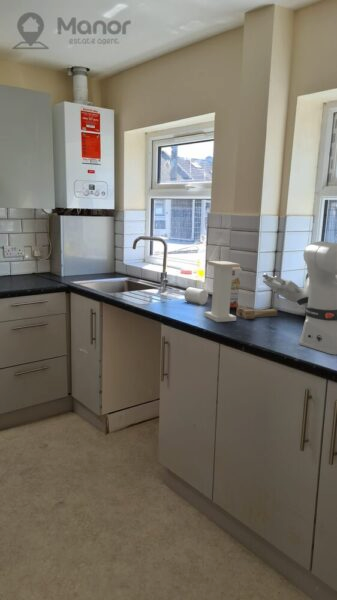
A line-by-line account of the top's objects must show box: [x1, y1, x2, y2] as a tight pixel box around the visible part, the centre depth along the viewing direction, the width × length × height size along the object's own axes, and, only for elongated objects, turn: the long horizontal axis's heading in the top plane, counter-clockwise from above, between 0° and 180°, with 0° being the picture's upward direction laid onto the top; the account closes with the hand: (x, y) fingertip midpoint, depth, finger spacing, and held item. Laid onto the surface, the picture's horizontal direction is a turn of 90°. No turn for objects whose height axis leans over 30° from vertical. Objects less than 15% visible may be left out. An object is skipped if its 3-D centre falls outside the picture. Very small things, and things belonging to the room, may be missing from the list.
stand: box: [203, 260, 241, 323], centre depth 207 cm, size 12×10×26 cm
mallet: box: [235, 306, 278, 320], centre depth 218 cm, size 8×20×4 cm, turn 114°
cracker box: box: [230, 268, 242, 308], centre depth 236 cm, size 14×6×21 cm, turn 105°
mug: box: [184, 286, 209, 305], centre depth 244 cm, size 12×10×8 cm
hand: (269, 276), depth 217 cm, fingers open, 7 cm apart
